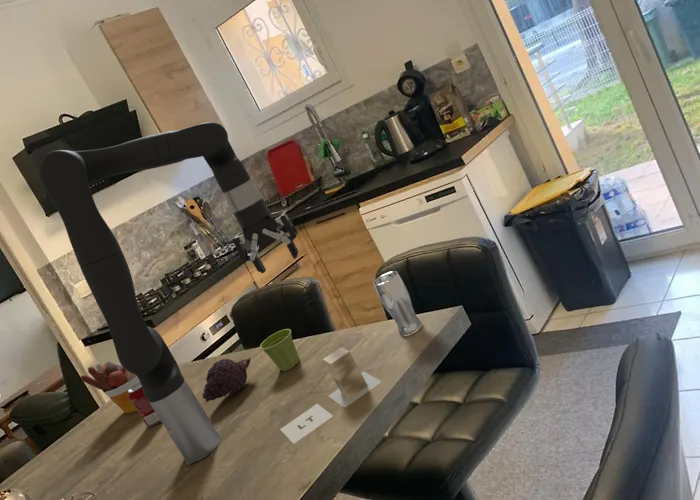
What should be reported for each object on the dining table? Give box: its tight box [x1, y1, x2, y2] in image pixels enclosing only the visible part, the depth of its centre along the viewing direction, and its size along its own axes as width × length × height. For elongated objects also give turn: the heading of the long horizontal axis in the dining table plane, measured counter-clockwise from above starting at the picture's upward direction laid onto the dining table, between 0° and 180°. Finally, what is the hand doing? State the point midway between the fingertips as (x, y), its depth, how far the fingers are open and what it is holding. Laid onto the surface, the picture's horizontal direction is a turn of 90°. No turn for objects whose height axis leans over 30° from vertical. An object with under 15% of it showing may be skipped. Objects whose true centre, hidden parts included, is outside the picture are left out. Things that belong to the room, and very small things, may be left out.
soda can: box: [128, 382, 162, 427], centre depth 188 cm, size 7×7×12 cm
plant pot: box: [259, 328, 301, 372], centre depth 179 cm, size 9×9×9 cm
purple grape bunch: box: [202, 357, 251, 403], centre depth 180 cm, size 18×10×10 cm, turn 140°
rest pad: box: [328, 371, 382, 408], centre depth 148 cm, size 10×10×1 cm
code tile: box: [279, 403, 334, 445], centre depth 143 cm, size 10×10×1 cm
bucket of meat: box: [80, 361, 140, 414], centre depth 208 cm, size 20×16×20 cm
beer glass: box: [372, 270, 423, 337], centre depth 162 cm, size 7×7×15 cm
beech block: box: [322, 346, 368, 398], centre depth 147 cm, size 5×5×9 cm
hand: (280, 264), depth 155 cm, fingers open, 8 cm apart
